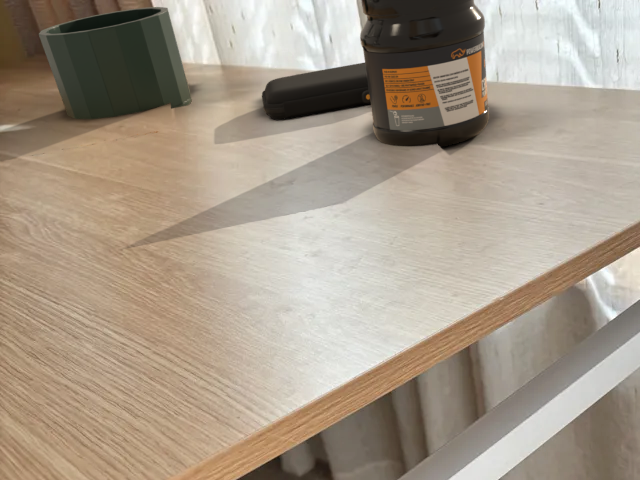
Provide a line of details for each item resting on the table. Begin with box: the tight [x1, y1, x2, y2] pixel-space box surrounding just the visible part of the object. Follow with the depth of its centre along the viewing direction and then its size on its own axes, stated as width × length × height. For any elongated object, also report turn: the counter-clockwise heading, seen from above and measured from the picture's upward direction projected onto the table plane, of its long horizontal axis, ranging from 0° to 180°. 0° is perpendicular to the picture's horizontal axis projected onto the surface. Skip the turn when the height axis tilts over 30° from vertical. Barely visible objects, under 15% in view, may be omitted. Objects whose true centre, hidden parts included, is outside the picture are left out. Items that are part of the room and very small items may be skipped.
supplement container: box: [359, 0, 490, 148], centre depth 70 cm, size 10×10×12 cm
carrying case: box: [261, 62, 371, 121], centre depth 86 cm, size 11×3×15 cm
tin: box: [38, 6, 193, 120], centre depth 96 cm, size 15×15×10 cm
